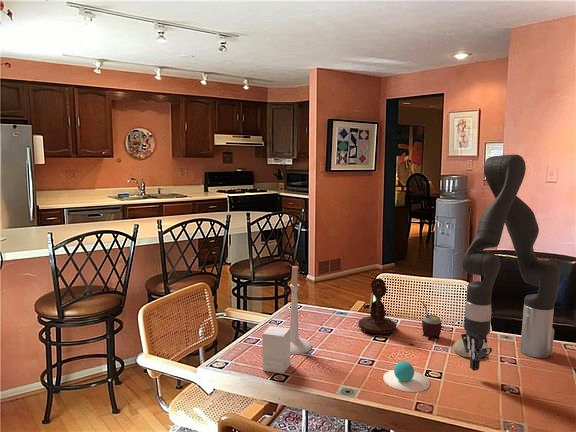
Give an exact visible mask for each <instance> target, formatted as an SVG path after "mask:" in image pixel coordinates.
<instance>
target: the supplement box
mask: <svg viewBox="0 0 576 432" xmlns="http://www.w3.org/2000/svg"><path fill="white" fill-rule="evenodd" d="M290 366H291V354H290V327H282V326H275V325H269V326H268V327H267V328H266V329H265V331H263V332H262V371H264V372H269V373H276V374H282V375H284V374H285V372H286V371H287V370H288V368H289V367H290Z"/></svg>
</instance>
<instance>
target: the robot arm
mask: <svg viewBox="0 0 576 432" xmlns="http://www.w3.org/2000/svg"><path fill="white" fill-rule="evenodd" d="M526 170H527V166H526V161H525V159H524V157H522V155H519V154H502V155H494V156H490V157H488V158H486V160H485V161H484V163H483V175H484V177H485V180H486V182H487V185H488V187H489V189H490V191H491V193H492V194H493V196H494V198H495V199H494V200H493V201H492V202H491V203H490V205H488V207H487V208H486V209H485V210H484V211H483V213H482V215H481V217H480V218H479V223H478V225H477V230H476V234H475V236H474V238H473V240H472V241H471V244H470V245H469V247H468V248H467V249H466V252H465V253H464V255H463V257H462V261H461V265H462V269H463V271H464V272H465V273H467V274H470V275H475V276H482V277H483V280H482V281H481V280H477V281H470V282H469V283H467V287H466V298H465V304H464V305H465V306H464V318H463V319H464V321H463V329H464V330H465V333H461V335H460V337H461V339H462V340H463V343H464V347H465V350H466V352H467V353H469V356H470V357H469V358H470V359H469V368H470V369H471V371H475V372H476V371H479V369H480V362H481V361H482V360H486V358H487V357H488V356H489V355H490V354H492V352H493V347H489V346H488V344H487V343H488V335H489V334H490V332H491V323H492V296H493V295H492V293H493V289H494V284H495V282H496V278H497V277H498V274H499V271H500V268H501V260H500V258H499V256H498V255H496V254H494V253H490V252H483V251H484V250H485V249H491V248H497V247H498V246H499V245H500V242H501V239H502V236H503V235H502V234H503V231H504V228H505V227H506V230H507V233H508V234H509V237H510V240H511V243H512V245H513V249H514V253H515V256H516V260H517V263H518V268H519V273H520V275H521V278H522V280H523V281H524V283H526V284H528V285H531V286H534V287H537V288H538V290H537V293H531V294H527V295H526V296H525V297H524V301H523V310H522V311H523V312H522V323H521V325H522V326H521V335H520V347H519V350H520V352H521V353H522V354H524V355H526V356H529V357H532V358H538V359H546V358H548V357H550V356H552V355H553V350H554V349H553V347H554V337H555V329H554V327H553V323H554V320H553V319H554V310H555V304H556V301H557V299H558V293H559V286H560V280H561V271H560V270H561V269H560V267H559V266H558V264H556V263H554V262H549V261H545V260H541V259H538V258H537V256H536V253H535V250H534V245H535V243H536V241H537V239H538V237H539V233H540V228H539V223H538V222H537V218H536V215H535V213H534V211H533V209H532V208H531V207H530V206H529V205H528V204H526V202H525V201H523V200H522V199H521V198H520V197H519V196H518V192H519V190H520V188H521V185H522V183H523V181H524V178H525V175H526ZM504 226H505V227H504ZM467 340H468V341H467Z"/></svg>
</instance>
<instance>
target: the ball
mask: <svg viewBox="0 0 576 432" xmlns="http://www.w3.org/2000/svg"><path fill="white" fill-rule="evenodd" d="M396 363H397V364H395V366H394V367H393V368H394V369H393V370H394V373H395V376H396V378H397V379H398V380H400V381H402V382H408V381H410V380H411V379H412V378H413V376H414V371H415V369H414V367H413V365H412V364H411V363H410V362H409V361H404V360H403V361H399V362H396Z"/></svg>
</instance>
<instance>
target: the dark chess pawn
mask: <svg viewBox="0 0 576 432" xmlns="http://www.w3.org/2000/svg"><path fill="white" fill-rule="evenodd" d="M370 287H371V294H370V300H369V301H370V302H369V316H365V317H364V316H363V317H362V318H360V319H359V320H358V324H357V326H358V327H359V328H360V329H362V330H363V334H367V332H368V333H374V334H388V335H389V336H391V335H392V333H393V332H394V331H396V330H397V324H396V322H395V321H394V320H392V319H391V318H388V317H386V313H387V312H386V310H385V304H384V303H383V302H382V299H383V297H385V296H386V294H387V287H386V282H385V280H384V279H382V278H379V277H378V278H374V279H373V280H371V284H370ZM374 297H375V300H374V301H373V298H374Z"/></svg>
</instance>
